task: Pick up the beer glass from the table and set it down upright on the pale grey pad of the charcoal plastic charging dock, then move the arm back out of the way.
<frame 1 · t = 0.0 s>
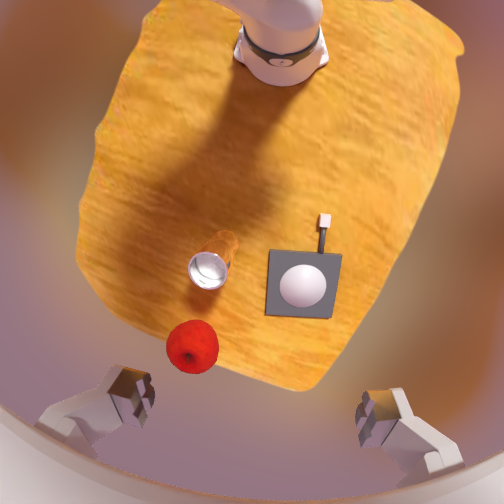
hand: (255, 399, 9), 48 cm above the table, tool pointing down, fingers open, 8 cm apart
apple: (201, 328, 66), on the table
charging dock: (302, 284, 59), on the table
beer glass: (224, 243, 58), on the table
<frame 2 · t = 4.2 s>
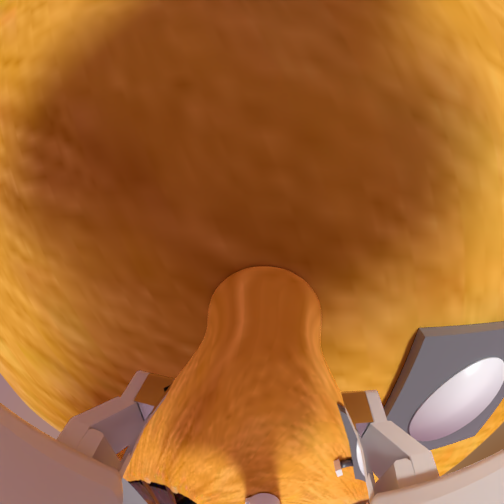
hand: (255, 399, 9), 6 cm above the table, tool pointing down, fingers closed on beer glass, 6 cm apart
charging dock: (456, 396, 16), on the table
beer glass: (264, 315, 15), on the table, touching gripper
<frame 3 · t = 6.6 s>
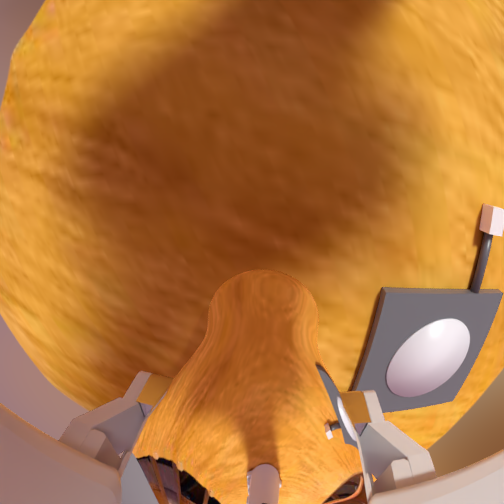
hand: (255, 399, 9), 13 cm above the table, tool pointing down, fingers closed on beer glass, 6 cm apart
charging dock: (426, 355, 23), on the table
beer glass: (263, 317, 15), point 6 cm above the table, touching gripper
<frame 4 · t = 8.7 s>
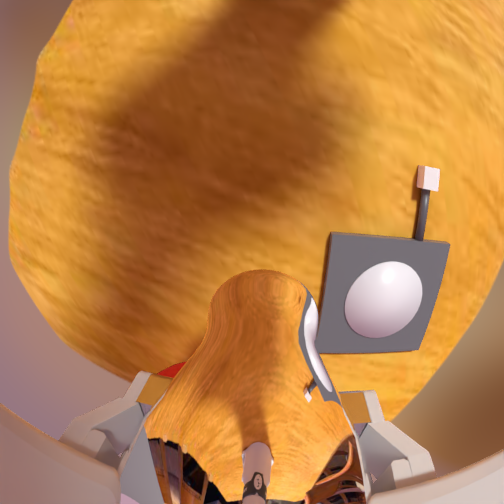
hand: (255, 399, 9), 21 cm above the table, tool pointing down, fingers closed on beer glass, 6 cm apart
charging dock: (382, 297, 30), on the table
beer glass: (263, 317, 15), point 15 cm above the table, touching gripper
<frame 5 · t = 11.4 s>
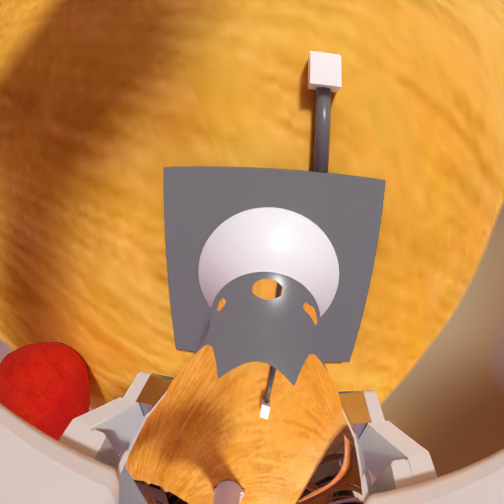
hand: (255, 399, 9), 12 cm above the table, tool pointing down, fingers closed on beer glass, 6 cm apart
apple: (72, 358, 27), on the table
charging dock: (268, 272, 21), on the table
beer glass: (265, 318, 15), point 6 cm above the table, touching gripper
when the fingers open (8 cm above the table, at t = 13.3 s): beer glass moves 2 cm, resting on charging dock.
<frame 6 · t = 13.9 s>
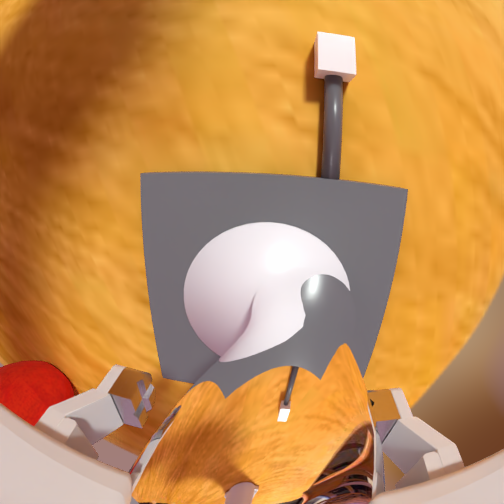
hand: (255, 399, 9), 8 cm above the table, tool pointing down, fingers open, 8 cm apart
apple: (58, 377, 24), on the table
charging dock: (267, 297, 17), on the table
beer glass: (304, 313, 16), point 1 cm above the table, touching charging dock, gripper
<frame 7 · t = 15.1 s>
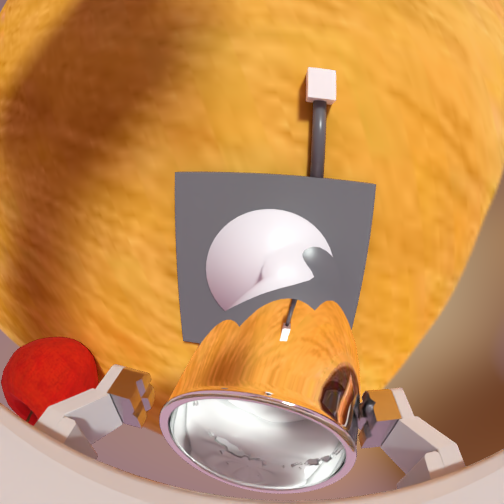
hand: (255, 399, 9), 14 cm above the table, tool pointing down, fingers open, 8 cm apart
apple: (81, 353, 29), on the table
charging dock: (270, 268, 23), on the table
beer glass: (301, 279, 21), point 1 cm above the table, touching charging dock, gripper
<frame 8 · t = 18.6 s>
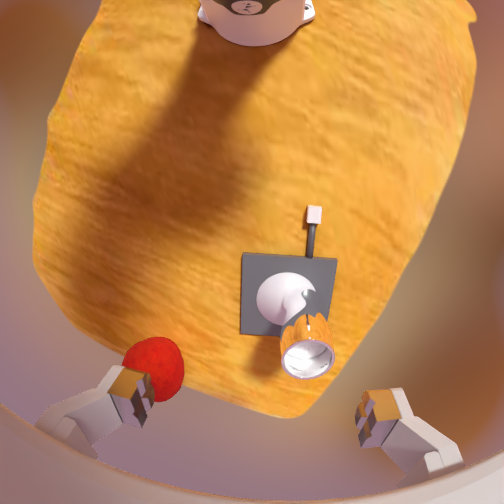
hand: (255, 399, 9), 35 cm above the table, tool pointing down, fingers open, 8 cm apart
apple: (166, 346, 53), on the table
charging dock: (286, 297, 47), on the table
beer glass: (301, 301, 45), point 1 cm above the table, touching charging dock
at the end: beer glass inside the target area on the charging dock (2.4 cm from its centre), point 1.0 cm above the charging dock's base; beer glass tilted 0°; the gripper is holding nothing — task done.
